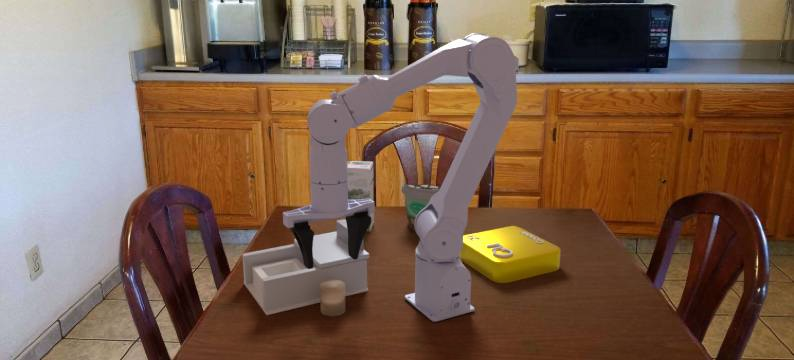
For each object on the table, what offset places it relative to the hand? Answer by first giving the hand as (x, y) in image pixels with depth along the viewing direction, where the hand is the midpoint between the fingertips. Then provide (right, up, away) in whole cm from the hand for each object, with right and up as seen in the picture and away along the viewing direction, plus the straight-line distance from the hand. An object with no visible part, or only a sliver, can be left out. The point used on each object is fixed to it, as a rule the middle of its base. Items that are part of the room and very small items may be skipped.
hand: (331, 261), depth 101 cm
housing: (-6, -6, +10) cm, 13 cm away
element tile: (+32, -3, +21) cm, 38 cm away
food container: (+17, +2, +37) cm, 41 cm away
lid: (-1, +1, +11) cm, 11 cm away
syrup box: (+2, +2, +39) cm, 39 cm away
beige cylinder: (0, -8, +2) cm, 9 cm away
